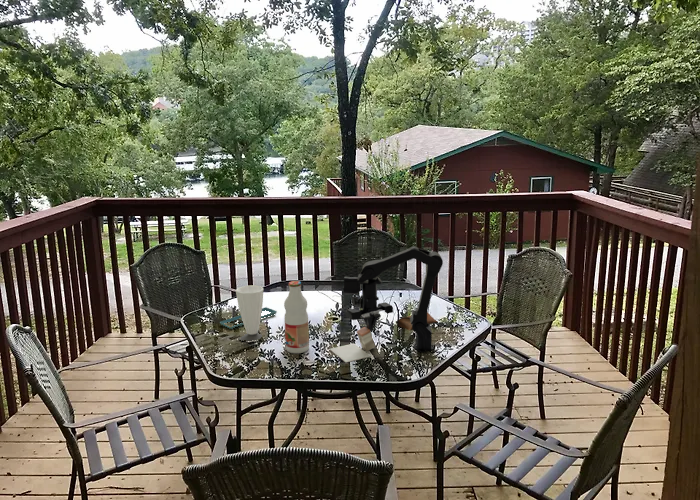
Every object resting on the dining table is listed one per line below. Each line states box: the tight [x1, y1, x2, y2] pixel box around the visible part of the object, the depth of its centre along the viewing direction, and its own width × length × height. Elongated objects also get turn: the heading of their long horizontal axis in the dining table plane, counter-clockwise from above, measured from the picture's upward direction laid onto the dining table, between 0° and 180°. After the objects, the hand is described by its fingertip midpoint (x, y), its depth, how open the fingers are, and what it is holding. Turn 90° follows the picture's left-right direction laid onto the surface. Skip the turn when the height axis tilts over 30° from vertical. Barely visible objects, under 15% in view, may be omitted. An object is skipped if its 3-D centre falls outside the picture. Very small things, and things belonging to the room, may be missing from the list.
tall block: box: [356, 326, 376, 352], centre depth 208 cm, size 4×4×8 cm
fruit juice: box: [283, 280, 310, 354], centre depth 207 cm, size 9×9×28 cm
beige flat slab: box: [329, 343, 372, 364], centre depth 206 cm, size 14×11×1 cm
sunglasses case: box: [396, 311, 439, 331], centre depth 236 cm, size 18×7×7 cm, turn 126°
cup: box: [235, 284, 264, 342], centre depth 220 cm, size 12×12×22 cm
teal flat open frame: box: [219, 306, 278, 330], centre depth 243 cm, size 26×9×2 cm, turn 135°
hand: (369, 331), depth 208 cm, fingers closed
